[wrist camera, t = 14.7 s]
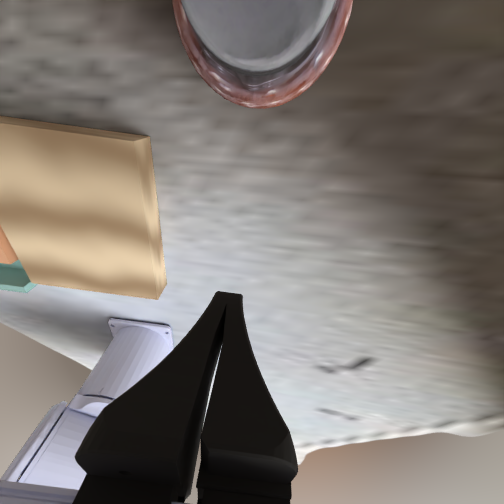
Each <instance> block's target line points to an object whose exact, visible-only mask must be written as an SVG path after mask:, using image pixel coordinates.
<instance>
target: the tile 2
mask: <svg viewBox="0 0 504 504" xmlns="http://www.w3.org/2000/svg"><path fill="white" fill-rule="evenodd" d="M17 260H18V257H17V255H16V253H15V251H14V249H13V248H12V246H11V244H10V242H9V240H8V238H7V237H6V235H5V233H4V231H3V229H2V227H1V225H0V263H4V264H12V263H14V262H15V261H17Z"/></svg>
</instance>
